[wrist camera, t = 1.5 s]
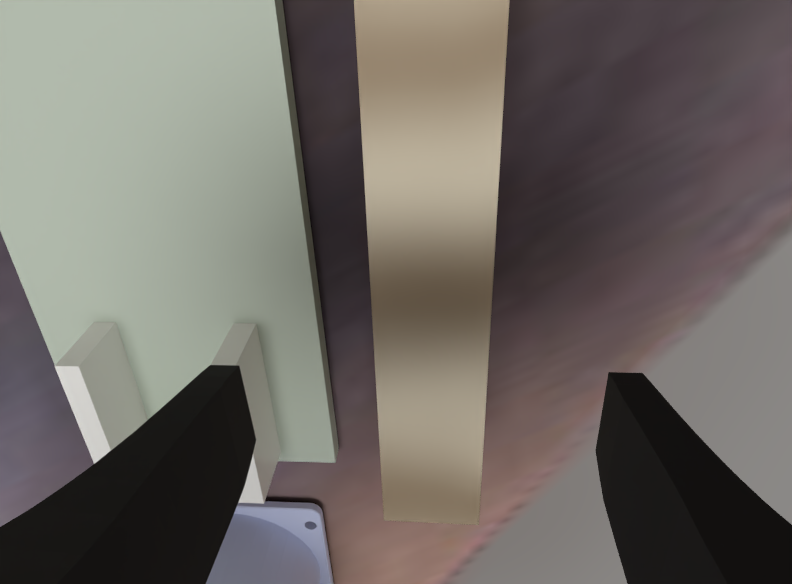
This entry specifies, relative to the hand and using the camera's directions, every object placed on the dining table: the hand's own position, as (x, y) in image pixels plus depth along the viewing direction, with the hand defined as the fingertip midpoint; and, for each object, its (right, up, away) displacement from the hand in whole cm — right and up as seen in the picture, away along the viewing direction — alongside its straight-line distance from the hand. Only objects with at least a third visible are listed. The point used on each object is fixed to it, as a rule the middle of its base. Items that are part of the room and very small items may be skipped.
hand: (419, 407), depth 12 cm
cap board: (-8, +6, +7) cm, 13 cm away
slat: (+1, +4, +8) cm, 9 cm away
